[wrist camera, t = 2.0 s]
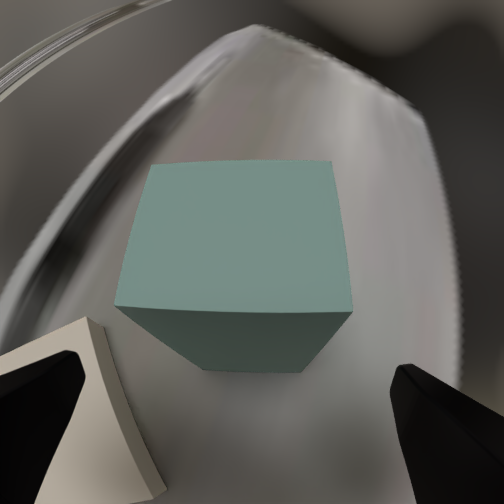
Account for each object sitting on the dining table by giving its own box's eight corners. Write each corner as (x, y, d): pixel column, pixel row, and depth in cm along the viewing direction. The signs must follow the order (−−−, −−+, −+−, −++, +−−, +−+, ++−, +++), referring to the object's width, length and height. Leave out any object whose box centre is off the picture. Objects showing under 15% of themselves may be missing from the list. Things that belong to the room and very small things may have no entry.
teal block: (300, 372, 17) (353, 311, 7) (203, 369, 18) (113, 305, 7) (299, 296, 20) (331, 161, 9) (209, 295, 20) (151, 165, 10)
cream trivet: (167, 489, 14) (153, 498, 11) (42, 507, 11) (22, 511, 9) (103, 327, 19) (85, 316, 17) (0, 372, 17) (-19, 365, 15)
